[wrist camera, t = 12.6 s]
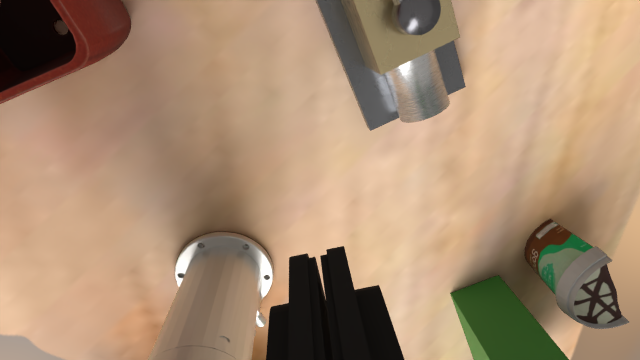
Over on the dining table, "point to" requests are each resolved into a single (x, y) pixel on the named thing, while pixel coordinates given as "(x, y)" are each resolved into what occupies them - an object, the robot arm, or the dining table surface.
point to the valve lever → (415, 15)
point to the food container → (575, 275)
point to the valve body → (394, 60)
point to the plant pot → (55, 40)
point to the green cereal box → (501, 324)
